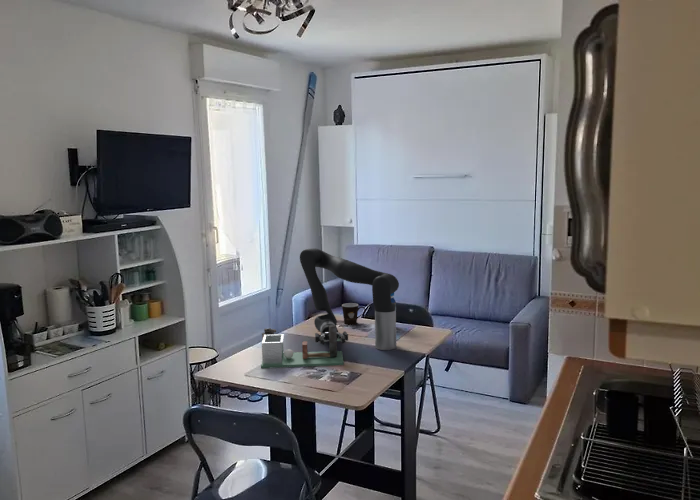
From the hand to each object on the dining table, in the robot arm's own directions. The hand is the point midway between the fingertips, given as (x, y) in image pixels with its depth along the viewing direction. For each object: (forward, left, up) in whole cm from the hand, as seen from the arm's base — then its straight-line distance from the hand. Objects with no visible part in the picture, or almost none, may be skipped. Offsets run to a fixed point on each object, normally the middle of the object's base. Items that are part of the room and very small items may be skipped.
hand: (333, 341), depth 245 cm
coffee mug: (-12, -57, -8) cm, 59 cm away
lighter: (+28, -17, -8) cm, 34 cm away
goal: (+25, -1, -7) cm, 26 cm away
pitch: (+13, -1, -8) cm, 15 cm away
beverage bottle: (-29, -47, -8) cm, 56 cm away
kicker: (+6, -1, -6) cm, 9 cm away
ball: (+19, -1, -5) cm, 20 cm away
